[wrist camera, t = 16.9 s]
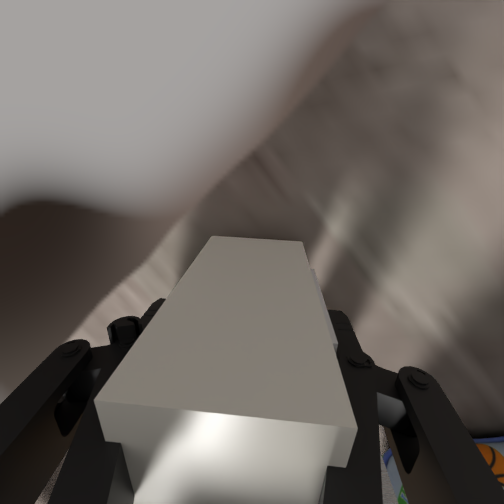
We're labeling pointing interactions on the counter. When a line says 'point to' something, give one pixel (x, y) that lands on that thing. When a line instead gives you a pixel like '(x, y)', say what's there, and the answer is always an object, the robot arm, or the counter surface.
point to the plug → (232, 384)
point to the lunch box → (493, 449)
